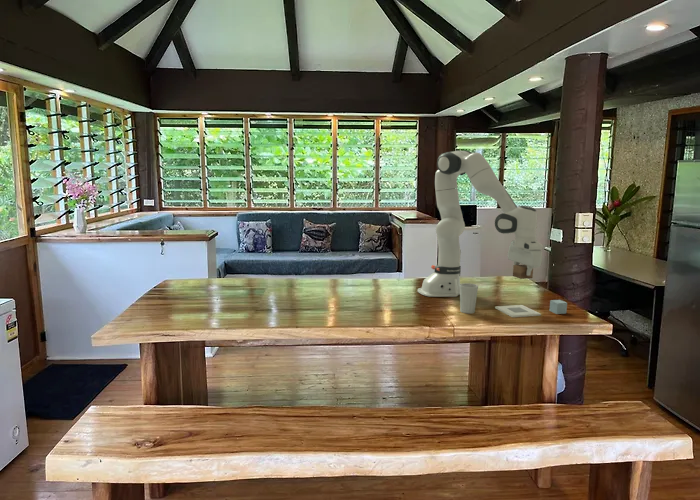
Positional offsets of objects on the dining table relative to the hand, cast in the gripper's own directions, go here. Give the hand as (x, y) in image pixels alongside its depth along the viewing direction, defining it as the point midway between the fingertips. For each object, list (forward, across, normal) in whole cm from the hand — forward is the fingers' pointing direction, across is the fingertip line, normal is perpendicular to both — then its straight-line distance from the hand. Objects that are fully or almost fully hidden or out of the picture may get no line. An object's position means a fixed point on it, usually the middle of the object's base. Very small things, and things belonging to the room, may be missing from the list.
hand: (522, 273), depth 214 cm
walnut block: (+2, 0, 0) cm, 2 cm away
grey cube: (+17, +6, +16) cm, 24 cm away
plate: (+17, +1, -2) cm, 17 cm away
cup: (+17, -4, -24) cm, 30 cm away
